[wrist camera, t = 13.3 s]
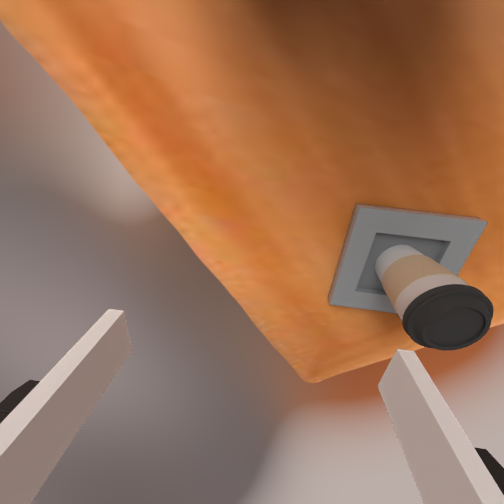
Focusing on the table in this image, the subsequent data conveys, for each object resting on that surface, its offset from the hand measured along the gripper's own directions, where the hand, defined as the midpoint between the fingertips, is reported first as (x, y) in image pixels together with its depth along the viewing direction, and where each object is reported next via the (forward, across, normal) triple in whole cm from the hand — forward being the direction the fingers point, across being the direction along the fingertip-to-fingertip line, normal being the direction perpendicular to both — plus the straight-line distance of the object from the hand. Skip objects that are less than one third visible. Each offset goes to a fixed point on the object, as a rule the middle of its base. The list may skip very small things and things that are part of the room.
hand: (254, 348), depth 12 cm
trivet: (+29, +22, -8) cm, 37 cm away
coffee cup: (+28, +22, -8) cm, 37 cm away
